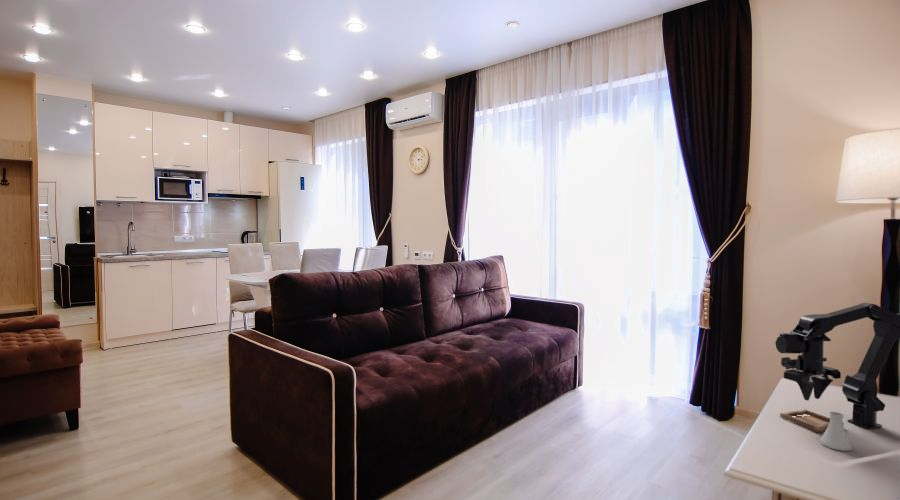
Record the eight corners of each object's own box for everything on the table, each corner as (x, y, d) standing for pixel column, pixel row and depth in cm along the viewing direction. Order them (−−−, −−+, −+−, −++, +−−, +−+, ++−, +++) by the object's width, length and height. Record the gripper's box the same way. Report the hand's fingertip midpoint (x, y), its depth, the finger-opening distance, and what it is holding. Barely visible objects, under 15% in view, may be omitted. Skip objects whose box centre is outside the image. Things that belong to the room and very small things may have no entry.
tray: (805, 415, 159) (805, 409, 159) (843, 428, 147) (843, 422, 147) (780, 419, 156) (780, 413, 156) (817, 433, 144) (817, 427, 144)
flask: (858, 452, 131) (858, 419, 131) (830, 450, 132) (831, 417, 132) (841, 441, 138) (841, 409, 138) (814, 440, 139) (815, 408, 139)
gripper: (807, 346, 161) (806, 389, 162) (768, 350, 156) (767, 394, 156) (842, 353, 151) (841, 399, 151) (801, 358, 145) (800, 405, 146)
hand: (811, 399), depth 151 cm, fingers open, 4 cm apart
